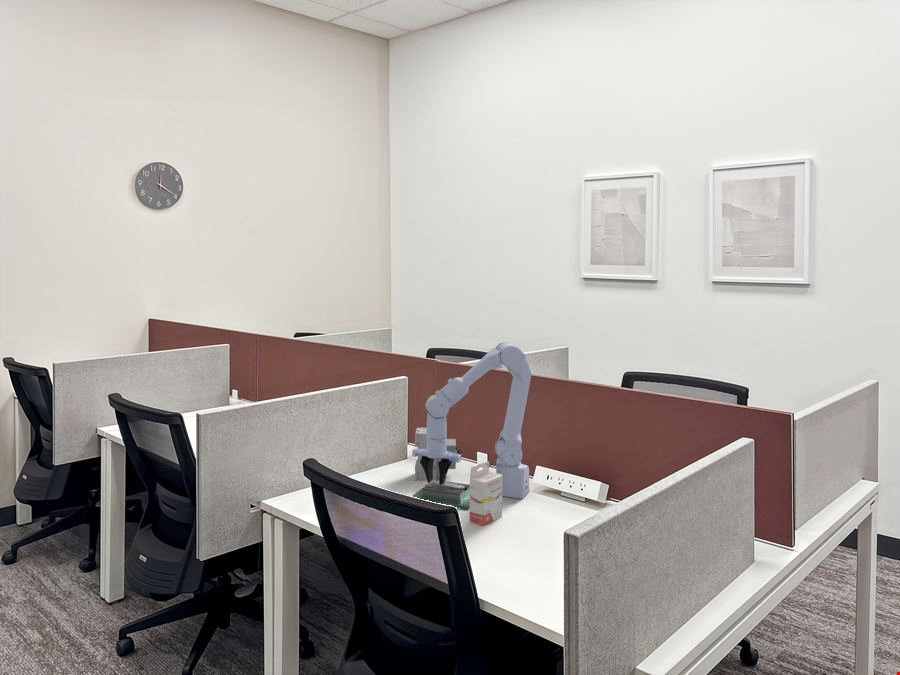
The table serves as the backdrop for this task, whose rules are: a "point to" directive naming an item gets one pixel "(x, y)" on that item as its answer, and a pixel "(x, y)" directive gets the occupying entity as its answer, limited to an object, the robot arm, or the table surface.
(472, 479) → the ink cartridge box
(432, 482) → the grey flat bar
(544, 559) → the table surface
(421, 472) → the circuit breaker
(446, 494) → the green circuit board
